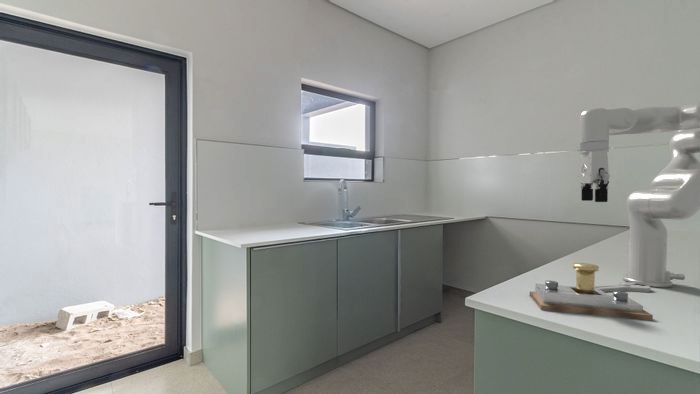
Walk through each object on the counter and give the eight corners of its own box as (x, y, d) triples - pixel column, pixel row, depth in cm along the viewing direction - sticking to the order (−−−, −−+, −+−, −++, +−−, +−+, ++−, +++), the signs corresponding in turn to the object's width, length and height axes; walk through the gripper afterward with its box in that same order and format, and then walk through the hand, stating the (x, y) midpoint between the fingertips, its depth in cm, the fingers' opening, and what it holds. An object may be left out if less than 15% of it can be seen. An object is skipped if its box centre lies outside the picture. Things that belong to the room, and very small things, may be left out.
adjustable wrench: (578, 295, 100) (578, 289, 100) (563, 288, 106) (563, 283, 106) (654, 293, 102) (654, 287, 102) (635, 286, 108) (635, 281, 108)
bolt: (592, 299, 90) (593, 263, 90) (601, 306, 85) (602, 268, 85) (568, 297, 92) (569, 262, 92) (576, 304, 87) (577, 266, 86)
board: (626, 303, 91) (626, 299, 91) (652, 320, 79) (652, 315, 79) (529, 295, 97) (529, 291, 97) (541, 309, 86) (541, 305, 86)
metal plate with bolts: (625, 301, 89) (626, 283, 89) (642, 311, 81) (643, 292, 81) (535, 293, 95) (535, 277, 95) (543, 303, 87) (543, 285, 87)
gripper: (570, 151, 115) (570, 200, 116) (593, 145, 98) (592, 202, 99) (595, 150, 113) (594, 200, 114) (622, 144, 97) (621, 202, 97)
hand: (593, 201), depth 106 cm, fingers open, 9 cm apart
